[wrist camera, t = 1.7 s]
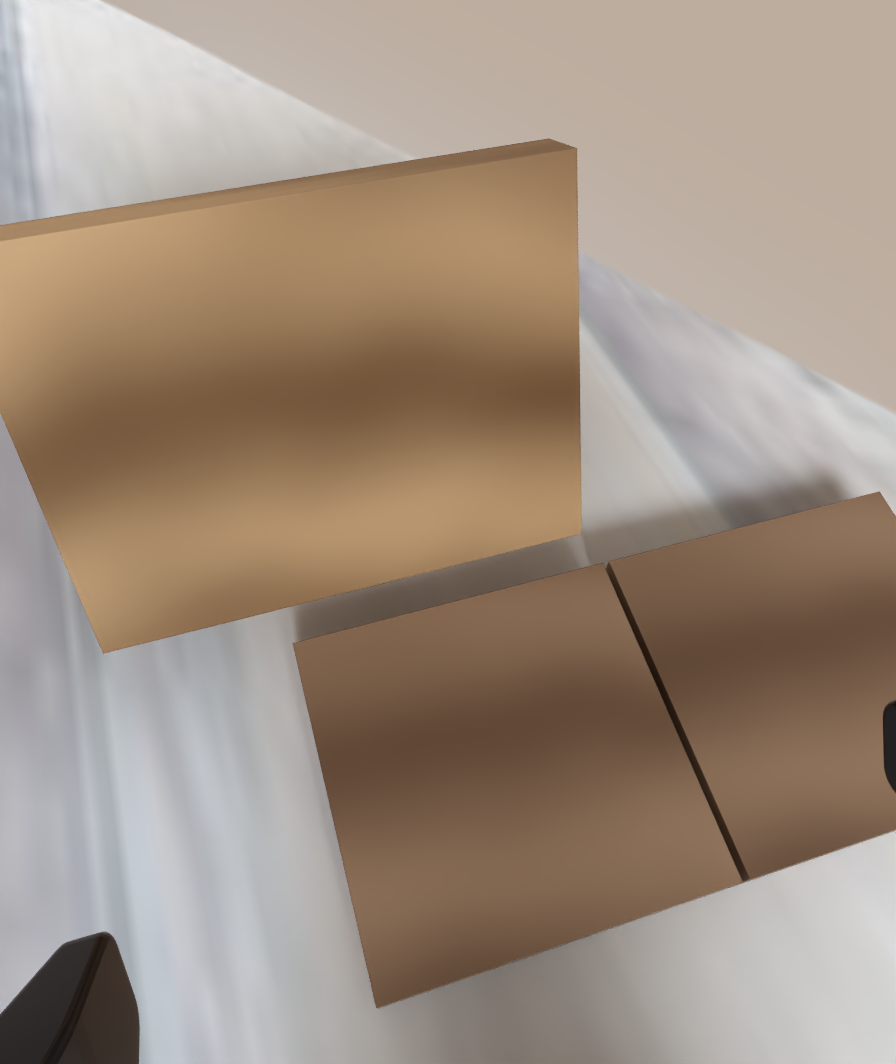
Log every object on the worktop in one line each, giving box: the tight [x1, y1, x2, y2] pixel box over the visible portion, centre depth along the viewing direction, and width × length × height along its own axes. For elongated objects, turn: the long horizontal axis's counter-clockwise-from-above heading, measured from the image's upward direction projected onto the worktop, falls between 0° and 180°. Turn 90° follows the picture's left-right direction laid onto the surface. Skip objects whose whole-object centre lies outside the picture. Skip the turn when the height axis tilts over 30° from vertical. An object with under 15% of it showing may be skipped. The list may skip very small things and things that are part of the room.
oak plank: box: [0, 139, 582, 653], centre depth 20 cm, size 10×13×2 cm
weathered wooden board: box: [293, 492, 896, 1008], centre depth 23 cm, size 9×18×2 cm, turn 107°
